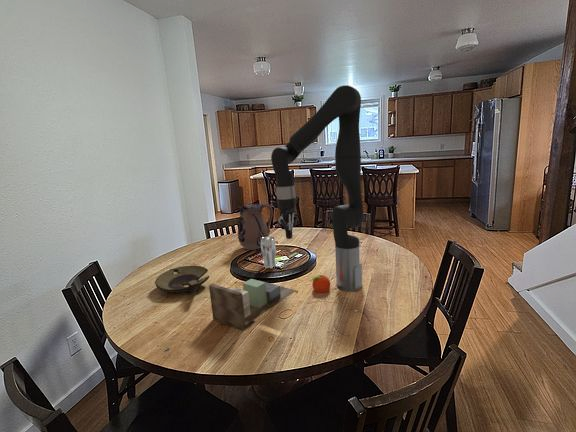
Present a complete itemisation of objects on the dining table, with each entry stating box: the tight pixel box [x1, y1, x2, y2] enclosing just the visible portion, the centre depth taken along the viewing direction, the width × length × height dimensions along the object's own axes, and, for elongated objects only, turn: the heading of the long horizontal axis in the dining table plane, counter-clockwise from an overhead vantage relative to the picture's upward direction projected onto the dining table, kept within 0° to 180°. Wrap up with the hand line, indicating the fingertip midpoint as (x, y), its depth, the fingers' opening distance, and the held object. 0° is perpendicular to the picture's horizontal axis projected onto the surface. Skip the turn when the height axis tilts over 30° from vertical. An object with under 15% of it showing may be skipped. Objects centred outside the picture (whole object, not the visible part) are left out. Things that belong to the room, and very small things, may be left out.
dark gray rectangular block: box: [261, 280, 281, 304], centre depth 120 cm, size 10×6×4 cm, turn 53°
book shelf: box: [208, 283, 297, 332], centre depth 116 cm, size 14×30×13 cm, turn 143°
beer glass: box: [260, 236, 277, 269], centre depth 150 cm, size 7×7×15 cm
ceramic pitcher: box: [237, 203, 274, 251], centre depth 182 cm, size 18×21×25 cm
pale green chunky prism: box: [242, 278, 267, 308], centre depth 115 cm, size 7×4×8 cm, turn 53°
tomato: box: [310, 274, 331, 294], centre depth 123 cm, size 8×7×7 cm
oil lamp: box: [154, 265, 210, 293], centre depth 135 cm, size 22×30×8 cm
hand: (289, 238), depth 132 cm, fingers closed
